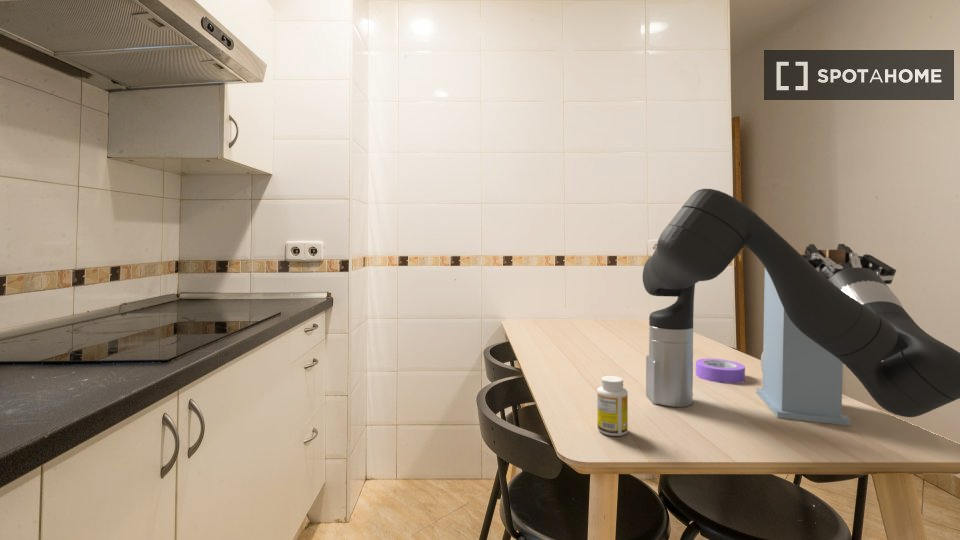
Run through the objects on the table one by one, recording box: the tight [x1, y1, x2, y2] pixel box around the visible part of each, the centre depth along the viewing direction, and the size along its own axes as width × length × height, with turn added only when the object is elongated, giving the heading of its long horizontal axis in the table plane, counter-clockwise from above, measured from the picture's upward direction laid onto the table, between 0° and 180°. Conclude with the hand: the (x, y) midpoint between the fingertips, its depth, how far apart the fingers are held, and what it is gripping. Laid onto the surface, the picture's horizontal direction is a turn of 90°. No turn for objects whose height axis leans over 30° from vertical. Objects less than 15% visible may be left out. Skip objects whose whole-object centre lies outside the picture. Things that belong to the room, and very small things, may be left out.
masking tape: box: [695, 357, 746, 384], centre depth 116 cm, size 12×12×4 cm
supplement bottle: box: [596, 375, 629, 437], centre depth 81 cm, size 6×6×10 cm
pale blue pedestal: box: [756, 254, 851, 426], centre depth 92 cm, size 12×16×34 cm
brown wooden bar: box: [795, 249, 845, 263], centre depth 86 cm, size 2×24×2 cm, turn 160°
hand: (824, 248), depth 80 cm, fingers open, 4 cm apart
